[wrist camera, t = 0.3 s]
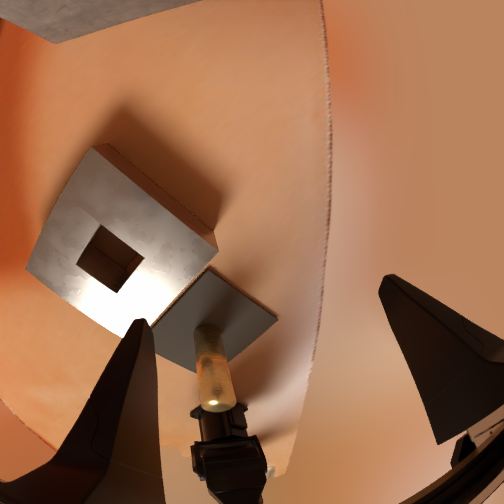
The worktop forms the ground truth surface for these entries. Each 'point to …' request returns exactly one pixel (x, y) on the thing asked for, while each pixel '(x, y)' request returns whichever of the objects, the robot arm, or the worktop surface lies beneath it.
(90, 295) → the block
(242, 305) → the mat
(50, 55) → the worktop surface
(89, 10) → the hip flask
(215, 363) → the pin
